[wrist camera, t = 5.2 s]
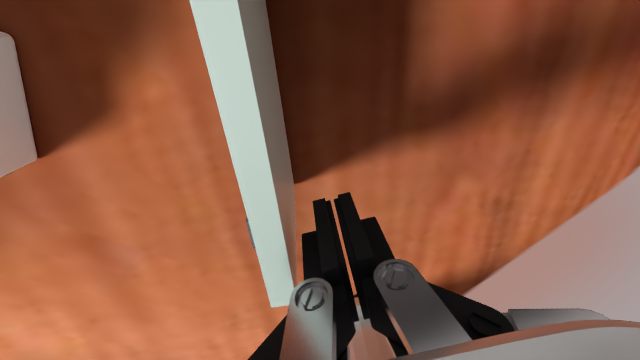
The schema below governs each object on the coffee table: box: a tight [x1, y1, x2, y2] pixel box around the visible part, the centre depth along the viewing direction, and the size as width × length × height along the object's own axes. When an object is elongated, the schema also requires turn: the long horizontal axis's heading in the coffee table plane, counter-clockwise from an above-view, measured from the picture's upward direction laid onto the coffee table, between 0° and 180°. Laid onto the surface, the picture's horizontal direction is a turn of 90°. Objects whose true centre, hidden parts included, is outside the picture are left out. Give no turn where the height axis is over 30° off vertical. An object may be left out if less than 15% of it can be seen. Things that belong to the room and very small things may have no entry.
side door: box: [190, 0, 297, 308], centre depth 11 cm, size 2×13×9 cm, turn 5°
